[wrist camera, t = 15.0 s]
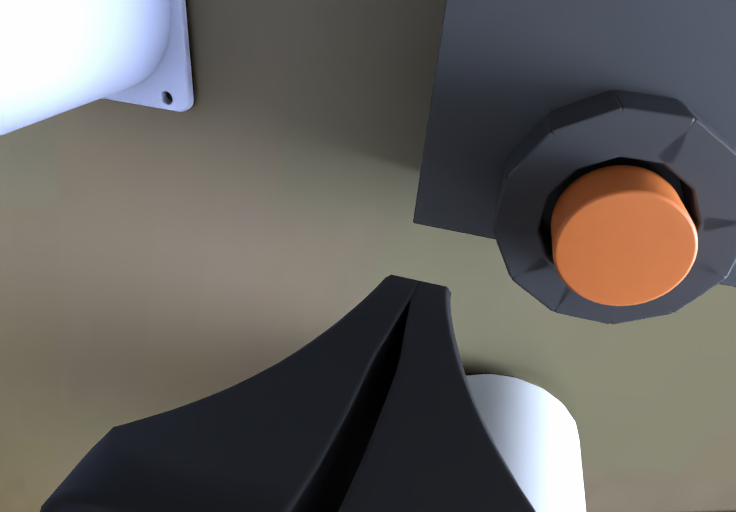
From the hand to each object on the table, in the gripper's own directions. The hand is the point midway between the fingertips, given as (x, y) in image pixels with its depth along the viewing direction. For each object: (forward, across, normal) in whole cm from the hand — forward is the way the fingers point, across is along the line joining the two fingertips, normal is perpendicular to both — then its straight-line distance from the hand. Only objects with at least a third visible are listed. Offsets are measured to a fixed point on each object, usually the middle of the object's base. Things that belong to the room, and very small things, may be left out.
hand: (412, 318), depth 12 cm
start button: (+5, -5, -1) cm, 7 cm away
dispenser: (+10, -4, -3) cm, 12 cm away
